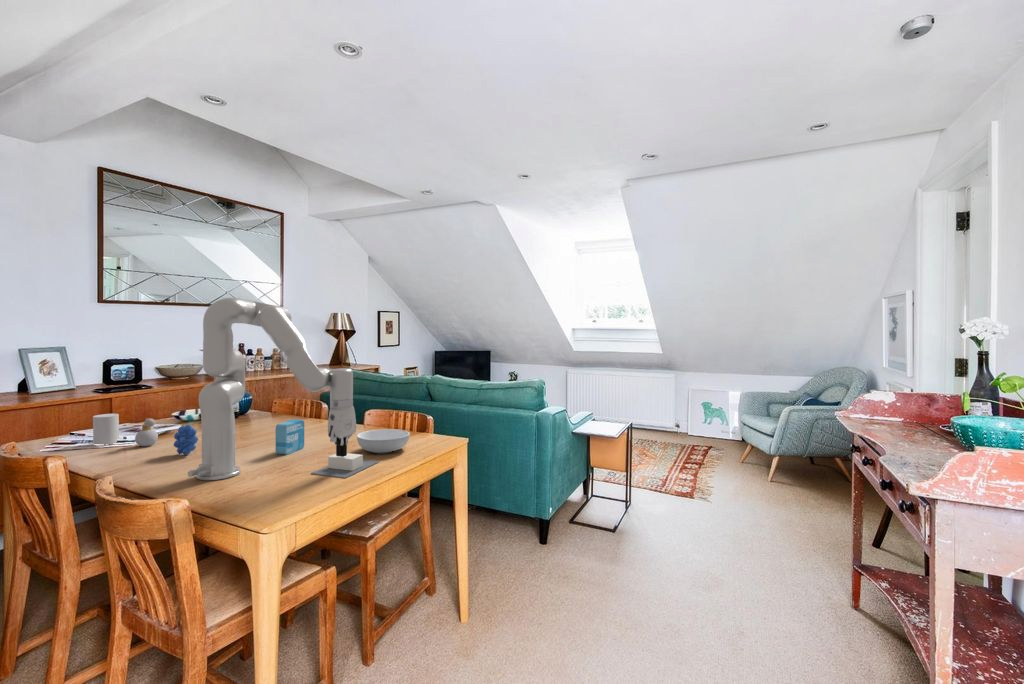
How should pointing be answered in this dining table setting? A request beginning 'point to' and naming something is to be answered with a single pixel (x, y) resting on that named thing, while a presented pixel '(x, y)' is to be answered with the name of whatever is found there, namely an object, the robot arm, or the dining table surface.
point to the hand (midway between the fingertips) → (341, 455)
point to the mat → (344, 473)
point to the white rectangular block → (345, 462)
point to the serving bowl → (383, 440)
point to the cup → (105, 428)
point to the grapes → (185, 439)
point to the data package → (289, 436)
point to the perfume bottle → (147, 434)
